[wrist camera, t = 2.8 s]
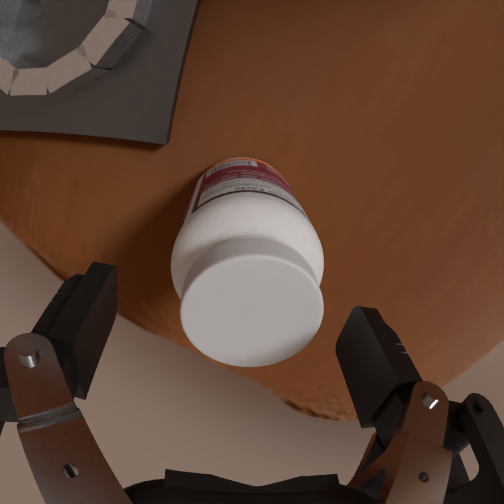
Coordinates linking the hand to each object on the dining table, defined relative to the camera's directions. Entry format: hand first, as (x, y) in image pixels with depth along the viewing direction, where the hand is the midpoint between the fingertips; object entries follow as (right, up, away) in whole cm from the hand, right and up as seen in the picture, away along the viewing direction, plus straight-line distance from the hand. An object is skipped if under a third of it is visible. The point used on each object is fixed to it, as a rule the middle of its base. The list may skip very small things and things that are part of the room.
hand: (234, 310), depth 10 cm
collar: (-10, +17, +3) cm, 20 cm away
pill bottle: (0, +5, +10) cm, 11 cm away
